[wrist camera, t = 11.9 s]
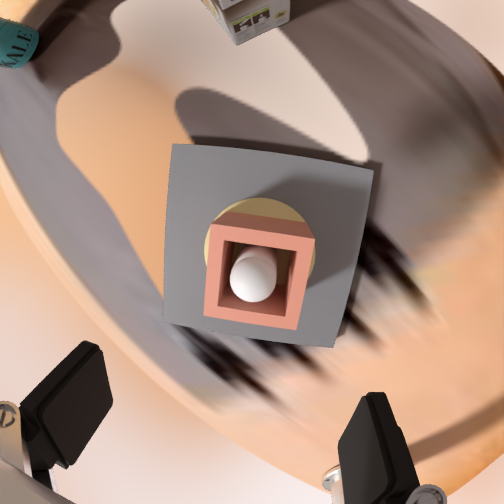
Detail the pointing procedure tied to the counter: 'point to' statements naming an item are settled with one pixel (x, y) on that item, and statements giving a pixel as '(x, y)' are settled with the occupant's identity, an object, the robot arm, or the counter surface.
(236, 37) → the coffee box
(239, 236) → the collar
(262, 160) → the post board
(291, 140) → the counter surface
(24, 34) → the beverage bottle
